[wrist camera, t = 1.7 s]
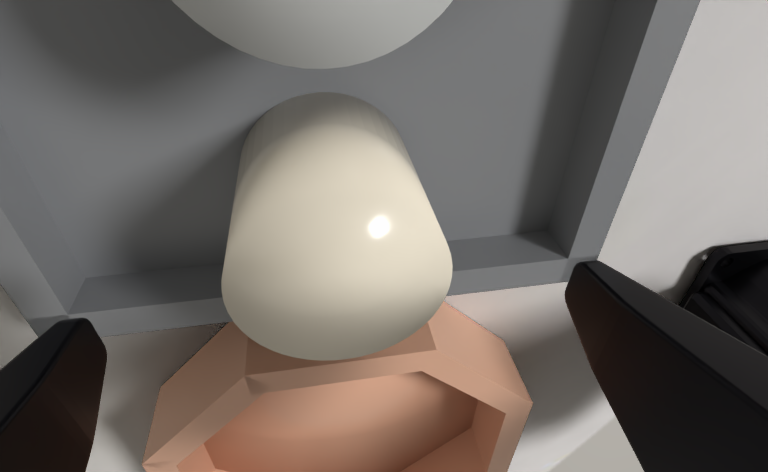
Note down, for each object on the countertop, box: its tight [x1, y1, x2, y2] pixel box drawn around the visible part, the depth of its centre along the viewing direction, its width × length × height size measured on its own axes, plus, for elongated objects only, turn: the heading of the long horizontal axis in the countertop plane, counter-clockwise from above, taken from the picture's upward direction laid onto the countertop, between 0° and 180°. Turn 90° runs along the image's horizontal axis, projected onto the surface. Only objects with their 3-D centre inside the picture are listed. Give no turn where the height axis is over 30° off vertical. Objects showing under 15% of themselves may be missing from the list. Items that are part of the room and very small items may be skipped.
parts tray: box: [0, 0, 700, 337], centre depth 10 cm, size 16×14×2 cm
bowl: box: [142, 301, 533, 472], centre depth 19 cm, size 14×14×3 cm
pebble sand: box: [221, 92, 453, 361], centre depth 11 cm, size 4×4×4 cm
